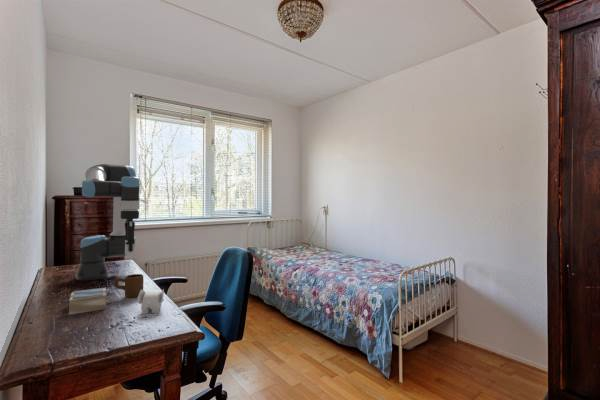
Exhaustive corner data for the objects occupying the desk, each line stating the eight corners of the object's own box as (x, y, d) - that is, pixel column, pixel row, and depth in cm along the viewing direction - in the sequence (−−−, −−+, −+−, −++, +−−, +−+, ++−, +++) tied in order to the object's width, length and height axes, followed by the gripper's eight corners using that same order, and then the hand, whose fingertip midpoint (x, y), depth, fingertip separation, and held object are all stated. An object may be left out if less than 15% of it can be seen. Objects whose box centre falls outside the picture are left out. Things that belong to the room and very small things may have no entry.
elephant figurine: (168, 305, 131) (168, 284, 131) (160, 315, 119) (161, 292, 119) (144, 305, 129) (145, 285, 129) (134, 316, 117) (134, 293, 117)
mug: (112, 301, 134) (113, 279, 134) (113, 296, 141) (114, 275, 141) (143, 297, 140) (143, 276, 140) (142, 292, 146) (143, 273, 146)
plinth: (71, 305, 128) (72, 291, 128) (105, 300, 135) (105, 287, 135) (69, 314, 118) (69, 299, 118) (105, 309, 124) (105, 294, 124)
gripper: (119, 209, 149) (118, 252, 149) (121, 211, 128) (121, 261, 128) (136, 209, 153) (135, 251, 153) (141, 211, 132) (141, 260, 132)
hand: (129, 256), depth 140 cm, fingers open, 13 cm apart
